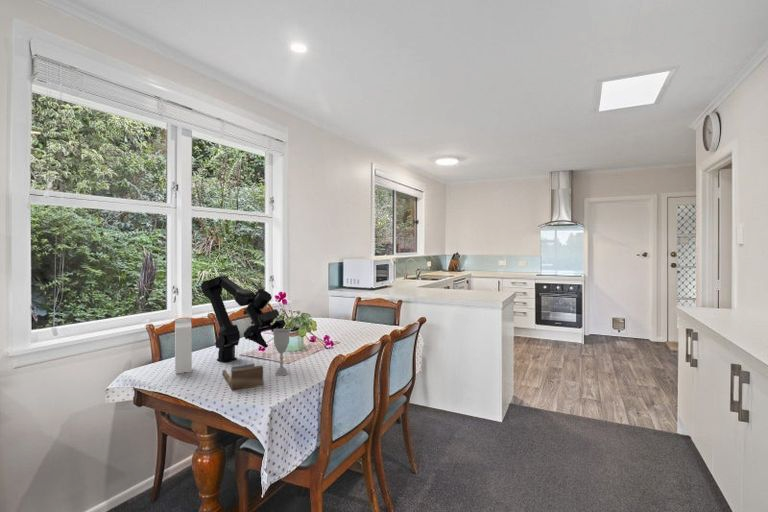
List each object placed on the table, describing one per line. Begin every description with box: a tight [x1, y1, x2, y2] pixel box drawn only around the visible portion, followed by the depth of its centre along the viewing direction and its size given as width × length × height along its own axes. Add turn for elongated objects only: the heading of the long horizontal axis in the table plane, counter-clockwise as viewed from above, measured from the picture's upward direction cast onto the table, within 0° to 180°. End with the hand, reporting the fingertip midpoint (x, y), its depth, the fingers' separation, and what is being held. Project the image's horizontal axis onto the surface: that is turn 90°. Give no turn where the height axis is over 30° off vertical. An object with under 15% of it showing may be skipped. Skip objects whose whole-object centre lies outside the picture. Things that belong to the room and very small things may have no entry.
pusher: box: [230, 363, 255, 371], centre depth 154 cm, size 1×8×6 cm, turn 122°
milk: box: [174, 317, 193, 374], centre depth 166 cm, size 6×6×22 cm
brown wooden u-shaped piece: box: [221, 365, 264, 391], centre depth 156 cm, size 20×11×7 cm, turn 32°
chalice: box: [272, 328, 291, 377], centre depth 163 cm, size 7×7×18 cm
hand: (275, 344), depth 165 cm, fingers open, 9 cm apart
